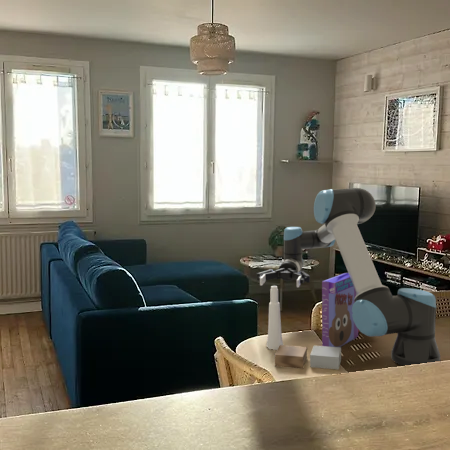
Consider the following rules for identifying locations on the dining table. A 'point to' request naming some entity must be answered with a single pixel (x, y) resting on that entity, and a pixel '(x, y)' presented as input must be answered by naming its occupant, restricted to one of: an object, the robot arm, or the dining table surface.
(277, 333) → the cosmetic bottle
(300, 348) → the walnut stand
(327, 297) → the cereal box
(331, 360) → the grey stand
